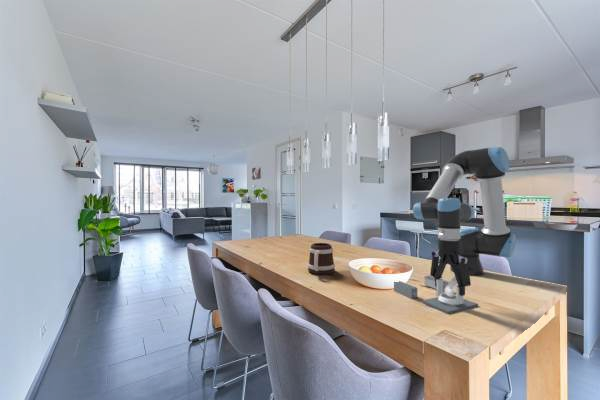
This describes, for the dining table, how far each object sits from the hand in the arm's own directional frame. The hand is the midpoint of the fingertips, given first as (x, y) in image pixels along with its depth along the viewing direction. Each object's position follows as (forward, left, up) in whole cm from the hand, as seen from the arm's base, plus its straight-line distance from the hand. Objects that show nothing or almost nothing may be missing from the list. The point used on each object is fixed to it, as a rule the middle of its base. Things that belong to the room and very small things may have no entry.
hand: (449, 299), depth 101 cm
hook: (0, 0, -1) cm, 1 cm away
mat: (0, 0, -2) cm, 2 cm away
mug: (+24, -59, -2) cm, 64 cm away
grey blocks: (-2, -15, -2) cm, 15 cm away
